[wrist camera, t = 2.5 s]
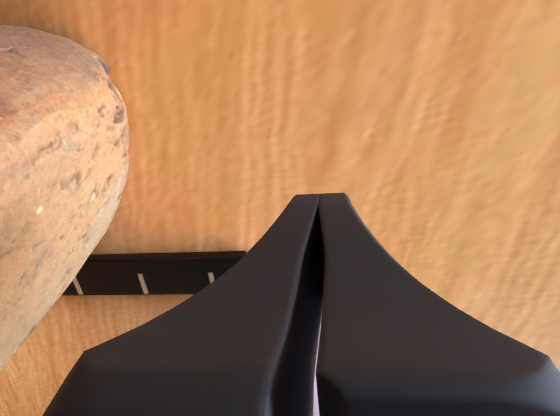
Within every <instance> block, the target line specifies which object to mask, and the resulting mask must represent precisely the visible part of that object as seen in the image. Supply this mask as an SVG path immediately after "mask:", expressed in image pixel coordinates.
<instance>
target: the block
mask: <svg viewBox="0 0 560 416" xmlns="http://www.w3.org/2000/svg"><path fill="white" fill-rule="evenodd" d="M109 69H110V68H109V67H108V65H107V64H106V63H105V61H104V60H103V59H102V58H101V57H100V56H99V55H98V54H96V53H94V52H92V51H91V50H89V49H87V48H85V47H83V46H82V45H80V44H78V43H76V42H74V41H72V40H70V39H68V38H66V37H62V36H59V35H55V34H52V33H48V32H45V31H41V30H38V29H34V28H29V27H24V26H16V25H0V371H1V369H2V368H3V367H4V366H5V364H6V363H7V362H8V361H9V359H10V358H11V357H12V356H13V354H14V353H15V352H16V351H17V349H18V348H19V347H20V346H21V344H22V343H23V342H24V341H25V339H26V338H27V337H28V336H29V334H30V333H31V332H32V331H33V330H34V328H35V327H36V326H37V325H38V323H39V322H40V321H41V320H42V318H43V317H44V316H45V315H46V313H47V312H48V311H49V310H50V308H51V307H52V306H53V305H54V304H55V302H56V301H57V300H58V299H59V298H60V296H61V295H62V294H63V292H64V291H65V290H66V288H67V287H68V286H69V284H70V283H71V282H72V280H73V279H74V278H75V276H76V275H77V273H78V272H79V270H80V269H81V267H82V266H83V264H84V263H85V261H86V260H87V258H88V257H89V255H90V254H91V252H92V251H93V249H94V248H95V247H96V245H97V244H98V242H99V241H100V240H101V238H102V237H103V235H104V234H105V232H106V231H107V229H108V227H109V225H110V223H111V221H112V219H113V216H114V214H115V212H116V210H117V207H118V205H119V203H120V200H121V196H122V192H123V188H124V186H125V184H126V182H127V177H128V166H129V161H130V159H129V156H128V154H127V151H128V147H129V126H128V122H127V109H126V106H125V103H124V101H123V99H122V97H121V94H120V93H119V91H118V90H117V89H116V87H115V86H114V85H113V83H112V82H111V81H110V76H109Z"/></svg>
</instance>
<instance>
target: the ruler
mask: <svg viewBox="0 0 560 416" xmlns="http://www.w3.org/2000/svg"><path fill="white" fill-rule="evenodd" d="M245 254H246V251H226V252H186V253H146V254H105V255H89V257H88V258H87V260H86V261H85V263H84V264H83V266H82V267H81V269H80V270H79V272H78V273H77V275H76V276H75V278H74V279H73V280H72V282H71V283H70V284H69V286H68V287H67V288H66V290H65V291H64V292H63V294H62V295H157V294H196V293H197V292H199V291H200V290H202V289H203V288H205V287H206V286H207V285H209V284H210V283H212V282H213V281H215V280H216V279H217V278H219V277H220V276H221V275H223V274H224V273H225V272H226V271H227V270H229V269H230V268H231V267H232V266H234V265H235V264H236V263H237V262H238V261H239V260H240V259H241V258H242V257H243V256H244V255H245Z"/></svg>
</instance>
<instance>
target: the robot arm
mask: <svg viewBox="0 0 560 416" xmlns="http://www.w3.org/2000/svg"><path fill="white" fill-rule="evenodd" d="M321 315H322V317H321ZM320 323H321V326H320ZM43 416H560V372H559V370H558V369H557V368H556V366H555V365H554V364H553V362H552V361H551V359H550V358H549V356H548V355H545V354H543V353H541V352H539V351H537V350H535V349H533V348H531V347H529V346H527V345H525V344H523V343H521V342H519V341H517V340H515V339H513V338H511V337H509V336H507V335H504V334H502V333H500V332H498V331H496V330H494V329H492V328H490V327H489V326H487V325H485V324H483V323H482V322H480V321H478V320H476V319H475V318H473V317H471V316H470V315H468V314H466V313H464V312H463V311H461V310H459V309H458V308H456V307H455V306H453V305H452V304H450V303H448V302H447V301H445V300H444V299H443V298H441V297H440V296H438V295H437V294H436V293H434V292H433V291H431V290H430V289H429V288H427V287H426V286H424V285H423V284H422V283H420V282H419V281H418V280H417V279H415V278H414V277H413V276H412V275H411V274H410V273H409V272H407V271H406V270H405V269H404V268H403V267H402V266H401V265H400V264H399V263H398V262H397V261H396V260H395V259H394V258H393V257H392V256H391V255H390V254H389V253H388V252H387V251H386V250H385V249H384V248H383V247H382V245H381V244H380V243H379V242H378V241H377V240H376V238H375V237H374V236H373V235H372V233H371V232H370V231H369V229H368V228H367V227H366V226H365V224H364V223H363V221H362V220H361V219H360V217H359V216H358V214H357V212H356V211H355V209H354V207H353V206H352V204H351V202H350V199H349V197H348V196H347V195H346V194H345V193H327V194H304V195H295V196H294V197H293V198H292V200H291V201H290V202H289V204H288V205H287V207H286V208H285V209H284V211H283V212H282V213H281V215H280V216H279V217H278V219H277V220H276V221H275V222H274V224H273V225H272V226H271V227H270V228H269V230H268V231H267V232H266V233H265V234H264V235H263V237H262V238H261V239H260V240H259V241H258V242H257V243H256V244H255V245H254V246H253V247H252V248H251V249H250V250H249V251H248V252H247V253H246V254H245V255H244V256H243V257H242V258H241V259H240V260H239V261H238V262H237V263H236V264H235V265H234V266H232V267H231V268H230V269H229V270H227V271H226V272H225V273H224V274H223V275H221V276H220V277H219V278H217V279H216V280H215V281H213V282H212V283H210V284H209V285H207V286H206V287H205V288H203V289H202V290H200V291H199V292H197V293H196V294H194V295H193V296H191V297H190V298H189V299H187V300H185V301H184V302H182V303H181V304H179V305H177V306H175V307H174V308H172V309H170V310H169V311H167V312H165V313H163V314H162V315H160V316H158V317H156V318H154V319H152V320H150V321H149V322H147V323H145V324H143V325H141V326H139V327H137V328H135V329H133V330H131V331H128V332H126V333H124V334H122V335H120V336H117V337H115V338H113V339H111V340H109V341H106V342H104V343H102V344H100V345H98V346H95V347H93V348H91V349H88V350H86V351H84V352H83V354H82V355H81V357H80V358H79V359H78V361H77V362H76V364H75V365H74V367H73V368H72V370H71V371H70V373H69V374H68V376H67V377H66V379H65V380H64V382H63V384H62V385H61V387H60V388H59V390H58V392H57V393H56V395H55V396H54V398H53V400H52V401H51V403H50V404H49V406H48V408H47V409H46V411H45V412H44V414H43Z"/></svg>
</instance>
